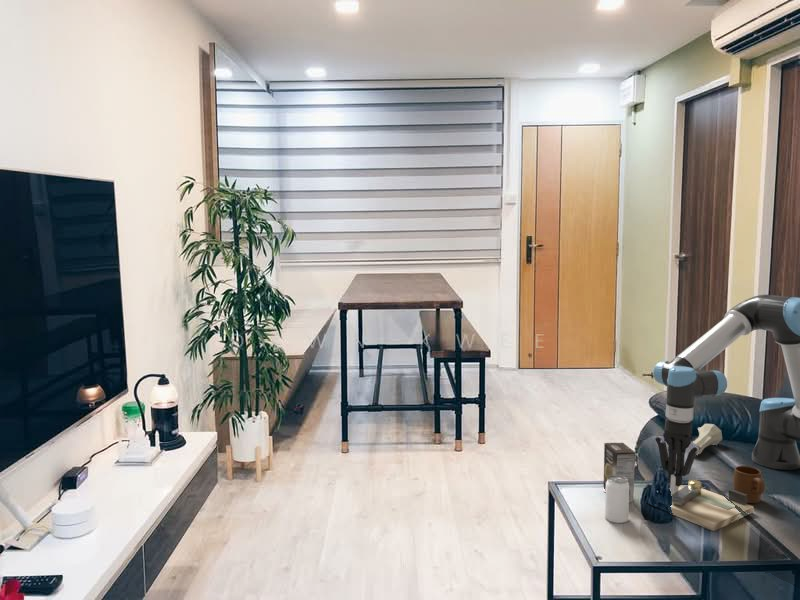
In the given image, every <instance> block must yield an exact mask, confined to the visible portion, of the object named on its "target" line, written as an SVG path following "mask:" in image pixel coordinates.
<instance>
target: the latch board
mask: <svg viewBox="0 0 800 600" xmlns="http://www.w3.org/2000/svg"><path fill="white" fill-rule="evenodd" d="M685 486H687V485H681V486H679V490H681V489H682V488H684V487H685ZM679 490H678V491H679ZM725 497H726V496H725ZM725 497H724V495H721V494H718V493H716V492H713V491H710V490H708V489H704V488H702V491H701V495H698V496H696V497H695V498H693V499H691V500H690V501H688V502H687V503H685V504H684V505H682V506H681V505H677V504H674V503H672V505H671V506H670V507H671V510H672V513H673V514H672V515H673V516H676V517H678V518H681V519H683V520H686V521H688V522H691V523H693V524H696V525H698V526H700V527H702V528H705V529H707V530H709V531H713V532H714V531H717V530H719V529H721V528H724V527H727V526H728V525H730V523H731V522H732V521H734V520H735V519H736V518H737V516H738V515H739V514H740V513H741V512H739V511H738V510H737V509H736V508H735V505H737V506H738V507H740V508H741V509H742V510H743V511H745V512H747V513H749V514H751V513H753V514H754V509H755V507H754V506H753V505H751V504H747V494H744V493H741V492H738V491H735V490H733V489H728V497H727V498H728V499H729V500H731V501H732V502H733V503H734V504H735V505H734V504H733V503H731V502H730V501H728V500H727V499H726V498H725ZM751 515H752V514H751ZM731 524H732V523H731Z"/></svg>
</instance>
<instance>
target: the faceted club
mask: <svg viewBox="0 0 800 600" xmlns="http://www.w3.org/2000/svg"><path fill="white" fill-rule="evenodd" d="M697 430H698V437H696V438H695V440H693V443H694V444H695V445H696V446H699V447H700V450H699V451H698V452H697V453H696V454H697V456H699V455H700V454H702V452H703V450H704V449H705V448H706V447H707V448H708V446H714V444H719V443H720V442H721V441H723V434H722V430H721V429H720V428H719V427H718V426H717V425H715V423H713V424H712V423H704V424H703V425H702V426H701V427H697ZM689 448H690V446H689V447H688V448H687V451H688V452H689V451H690V450H689ZM698 454H699V455H698Z"/></svg>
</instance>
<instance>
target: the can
mask: <svg viewBox="0 0 800 600" xmlns="http://www.w3.org/2000/svg"><path fill="white" fill-rule="evenodd" d="M604 500H605V502H604V517H605V519H606V520H607V521H609V522H610V523H613V524H625V523H626V522H628V521H629V509H630V508H629V507H630V506H629V505H630V502H629V484H628V479H627V478H625V477H622V476H609V477H608V480H607V482H606V493H605V499H604Z"/></svg>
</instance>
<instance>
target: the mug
mask: <svg viewBox="0 0 800 600" xmlns="http://www.w3.org/2000/svg"><path fill="white" fill-rule="evenodd" d="M762 474H763V473H762V471H761V470H760V469H758V468H756V467H754V466H748V465H739V466H735V468H734V472H733V487H732V488H733V489H732V490H735V491H738V492H741V493H744V494H747V503H756V504H758V502H759V503H760V502H761V498H762V494H763V493H764V492H765V489H766V488H765V487H766V486H765V482H764V481H763V476H762Z"/></svg>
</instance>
